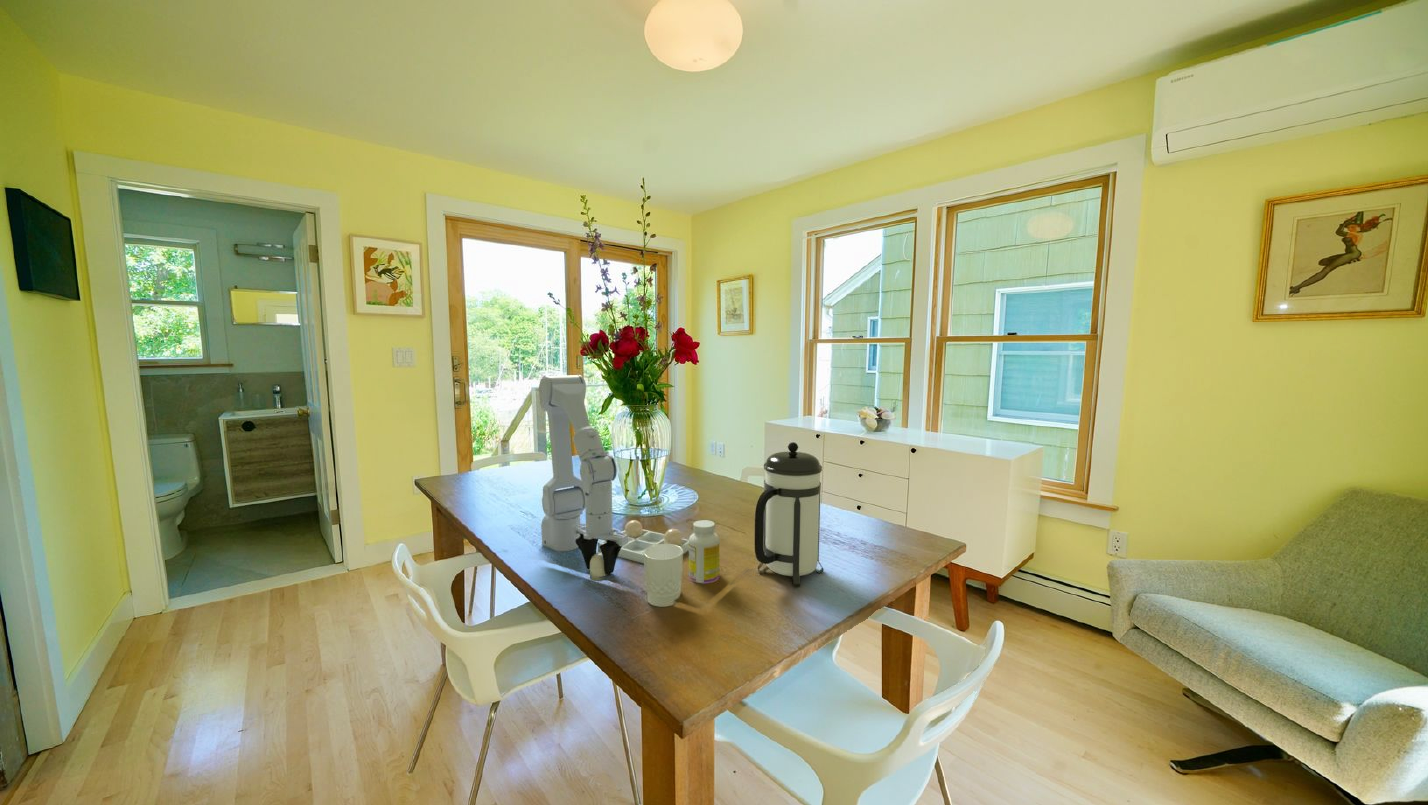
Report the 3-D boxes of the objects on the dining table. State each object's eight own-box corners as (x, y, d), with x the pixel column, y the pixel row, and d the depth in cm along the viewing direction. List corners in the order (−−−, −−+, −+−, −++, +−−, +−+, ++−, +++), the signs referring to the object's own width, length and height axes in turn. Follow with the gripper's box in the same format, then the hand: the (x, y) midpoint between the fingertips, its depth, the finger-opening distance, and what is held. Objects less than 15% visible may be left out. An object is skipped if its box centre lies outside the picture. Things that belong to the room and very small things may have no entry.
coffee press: (752, 557, 118) (753, 436, 115) (818, 559, 117) (821, 437, 114) (753, 592, 101) (755, 450, 98) (831, 594, 100) (835, 451, 97)
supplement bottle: (723, 576, 108) (723, 520, 107) (713, 589, 102) (713, 530, 101) (695, 571, 110) (695, 517, 109) (684, 584, 104) (684, 526, 103)
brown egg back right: (660, 551, 119) (660, 530, 118) (670, 545, 123) (670, 524, 122) (675, 555, 117) (675, 533, 116) (685, 549, 121) (685, 528, 120)
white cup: (677, 610, 93) (676, 561, 92) (638, 606, 95) (637, 557, 94) (687, 591, 101) (687, 545, 100) (651, 587, 103) (651, 542, 102)
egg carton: (598, 554, 119) (597, 542, 119) (631, 537, 131) (631, 526, 130) (661, 572, 110) (661, 559, 110) (692, 552, 121) (692, 540, 121)
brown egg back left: (621, 541, 125) (621, 521, 124) (632, 536, 129) (632, 516, 128) (635, 545, 123) (634, 524, 122) (645, 539, 127) (645, 519, 126)
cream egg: (585, 578, 107) (585, 554, 106) (599, 570, 111) (599, 547, 110) (600, 582, 105) (600, 558, 104) (614, 574, 109) (614, 551, 108)
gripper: (561, 510, 106) (563, 569, 108) (611, 521, 99) (612, 585, 101) (584, 502, 112) (586, 558, 114) (633, 512, 105) (634, 572, 107)
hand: (600, 570), depth 108 cm, fingers open, 5 cm apart
